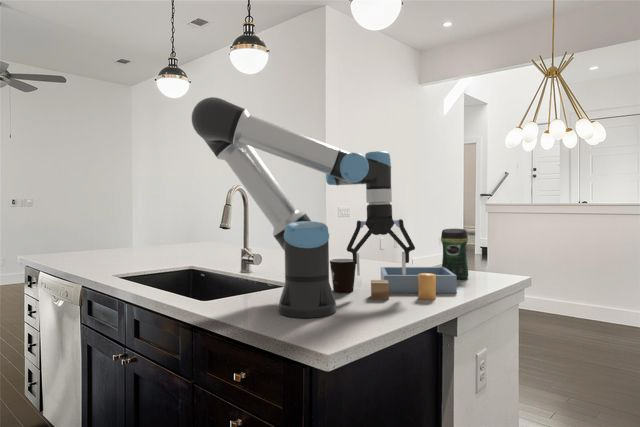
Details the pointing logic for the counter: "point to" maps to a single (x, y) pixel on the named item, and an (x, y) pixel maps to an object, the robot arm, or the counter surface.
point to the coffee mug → (343, 275)
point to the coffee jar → (455, 251)
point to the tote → (409, 282)
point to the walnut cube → (379, 289)
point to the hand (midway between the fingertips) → (381, 274)
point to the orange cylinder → (427, 286)
